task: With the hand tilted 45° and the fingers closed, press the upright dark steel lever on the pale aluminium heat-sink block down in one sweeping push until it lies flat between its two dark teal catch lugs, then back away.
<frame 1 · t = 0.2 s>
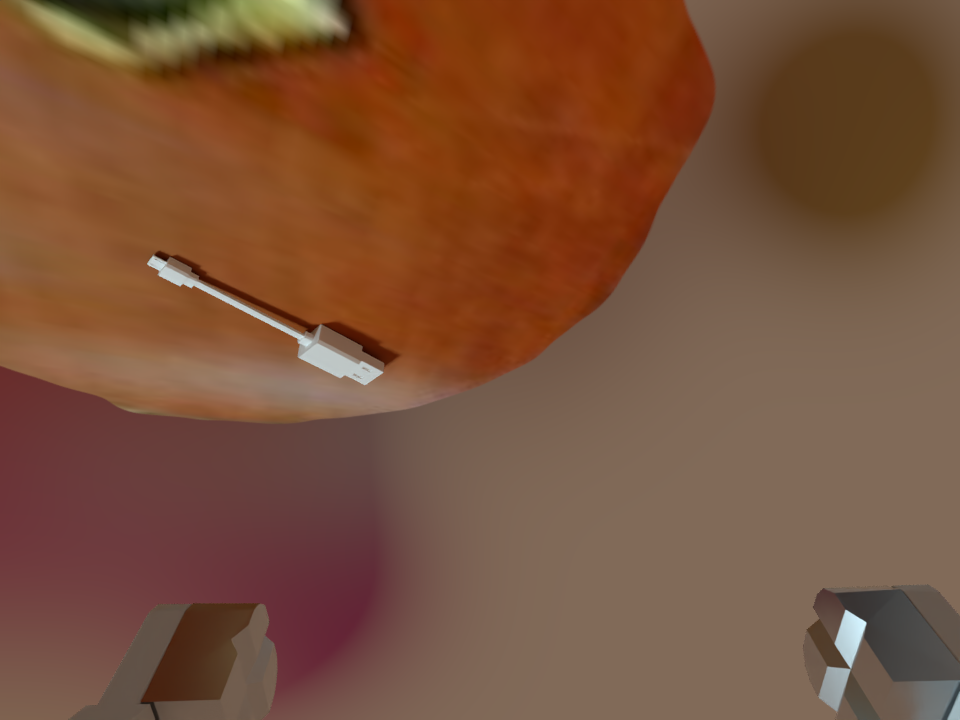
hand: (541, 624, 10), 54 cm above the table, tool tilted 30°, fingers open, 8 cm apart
charging cable: (280, 315, 87), on the table
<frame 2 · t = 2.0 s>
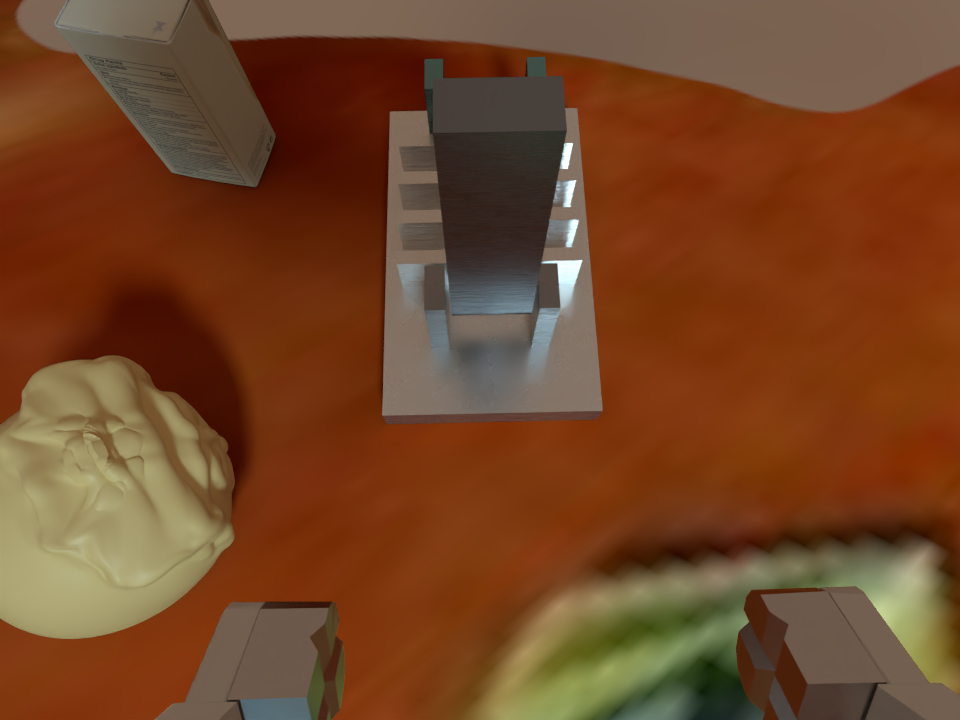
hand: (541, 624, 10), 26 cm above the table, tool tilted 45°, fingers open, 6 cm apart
heat sink block: (489, 339, 39), on the table
skincare box: (223, 156, 44), on the table
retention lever: (493, 229, 27), point 13 cm above the table, hinge at 0.0°
sculpture: (155, 513, 36), on the table
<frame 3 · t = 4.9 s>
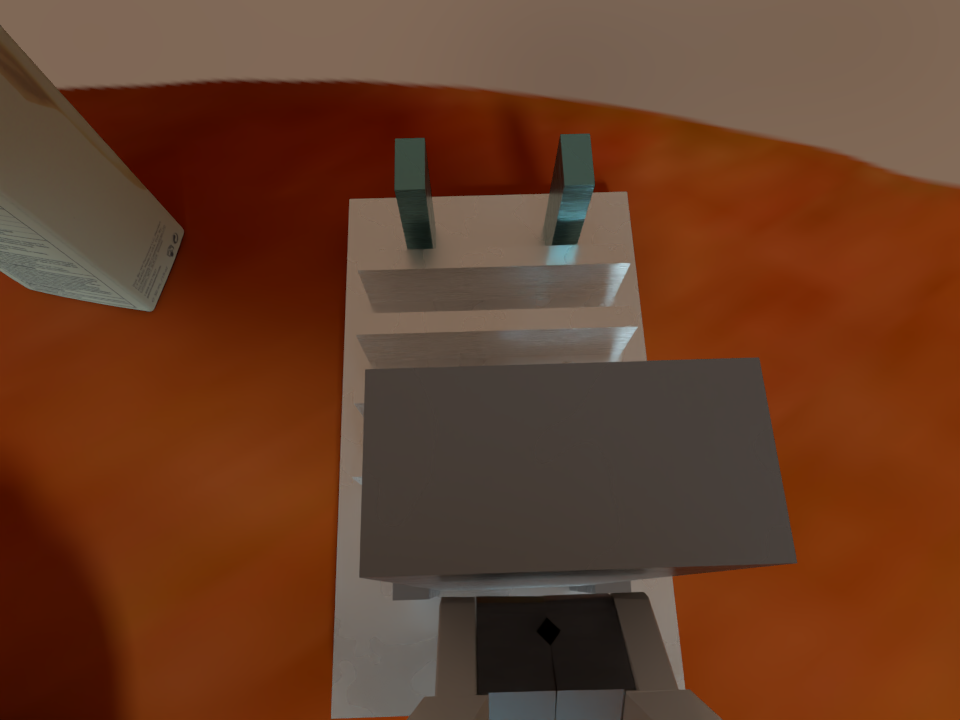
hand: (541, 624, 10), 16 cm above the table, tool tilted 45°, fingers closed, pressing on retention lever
heat sink block: (501, 558, 26), on the table
skincare box: (107, 261, 30), on the table
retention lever: (522, 532, 13), point 13 cm above the table, hinge at 1.4°, touching gripper
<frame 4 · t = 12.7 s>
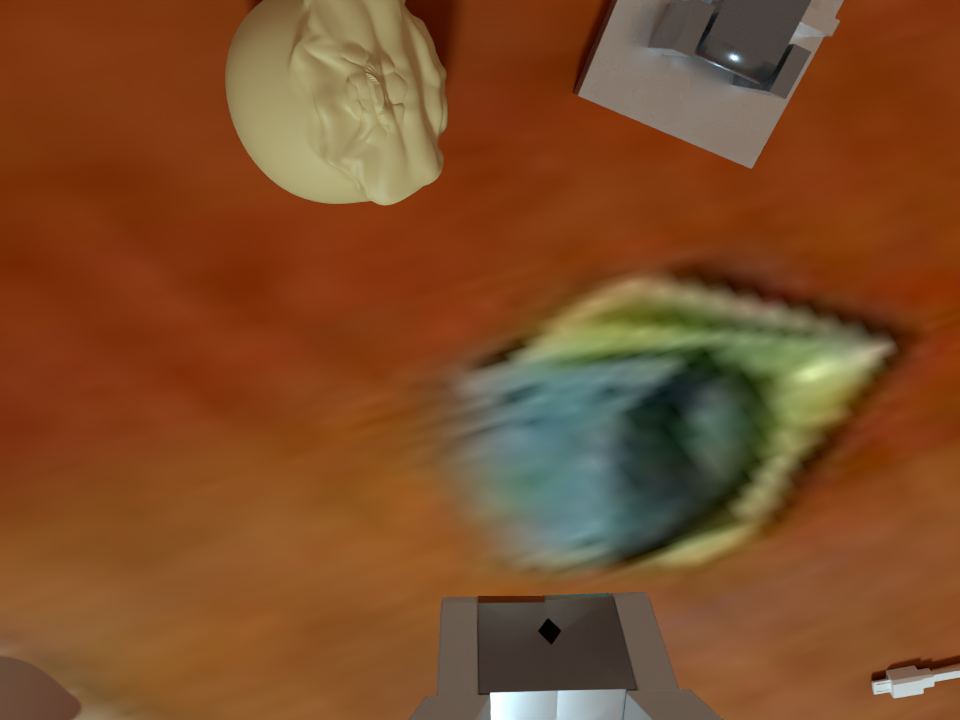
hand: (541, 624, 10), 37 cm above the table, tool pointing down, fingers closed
heat sink block: (696, 48, 40), on the table
sculpture: (355, 90, 41), on the table
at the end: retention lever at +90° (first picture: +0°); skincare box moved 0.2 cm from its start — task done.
